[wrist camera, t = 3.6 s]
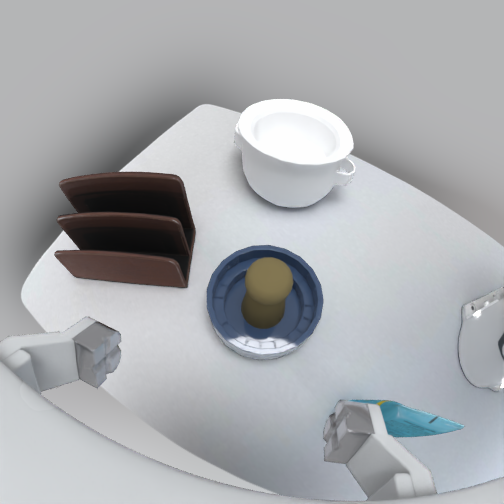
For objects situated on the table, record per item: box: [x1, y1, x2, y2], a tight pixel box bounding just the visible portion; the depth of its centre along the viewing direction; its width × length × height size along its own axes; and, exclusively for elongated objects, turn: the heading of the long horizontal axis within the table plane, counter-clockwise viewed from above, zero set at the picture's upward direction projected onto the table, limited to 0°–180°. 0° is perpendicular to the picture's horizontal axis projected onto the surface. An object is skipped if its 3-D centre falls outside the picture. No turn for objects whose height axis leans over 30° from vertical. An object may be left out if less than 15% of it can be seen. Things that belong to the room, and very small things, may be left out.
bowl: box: [207, 245, 323, 360], centre depth 37 cm, size 14×14×5 cm
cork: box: [241, 257, 293, 329], centre depth 34 cm, size 6×6×11 cm
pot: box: [234, 99, 355, 208], centre depth 46 cm, size 22×17×12 cm
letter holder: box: [55, 172, 196, 287], centre depth 36 cm, size 10×20×14 cm, turn 88°
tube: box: [349, 400, 465, 437], centre depth 23 cm, size 7×5×19 cm, turn 66°
